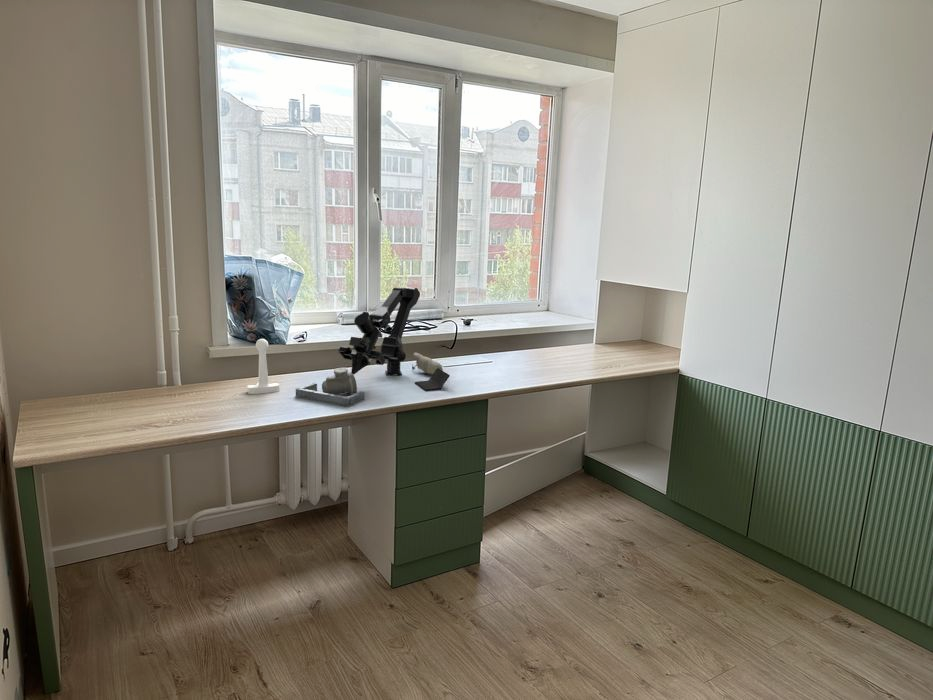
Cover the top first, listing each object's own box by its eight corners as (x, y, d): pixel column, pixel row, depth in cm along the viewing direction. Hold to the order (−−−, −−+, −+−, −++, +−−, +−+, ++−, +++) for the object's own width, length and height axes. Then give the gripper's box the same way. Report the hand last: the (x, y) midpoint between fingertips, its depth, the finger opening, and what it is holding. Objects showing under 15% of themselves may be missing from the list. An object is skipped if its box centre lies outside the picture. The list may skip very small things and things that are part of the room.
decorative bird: (435, 379, 259) (436, 360, 257) (409, 371, 271) (409, 353, 269) (446, 377, 263) (446, 358, 261) (419, 369, 275) (419, 351, 273)
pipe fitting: (352, 388, 239) (349, 363, 235) (358, 396, 232) (356, 370, 228) (321, 395, 234) (318, 369, 230) (327, 403, 227) (324, 376, 223)
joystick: (248, 394, 228) (246, 340, 224) (246, 389, 235) (244, 336, 231) (280, 391, 233) (278, 339, 229) (276, 386, 240) (275, 335, 236)
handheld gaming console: (409, 380, 249) (426, 358, 250) (422, 389, 254) (438, 368, 255) (425, 392, 240) (443, 369, 241) (438, 402, 245) (455, 379, 246)
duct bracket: (313, 390, 237) (313, 382, 236) (364, 399, 227) (364, 391, 226) (295, 396, 228) (295, 388, 227) (348, 407, 218) (348, 398, 217)
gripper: (340, 325, 243) (323, 359, 236) (380, 331, 235) (364, 365, 228) (352, 342, 252) (336, 374, 244) (392, 347, 244) (376, 381, 237)
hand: (352, 373), depth 238 cm, fingers closed
